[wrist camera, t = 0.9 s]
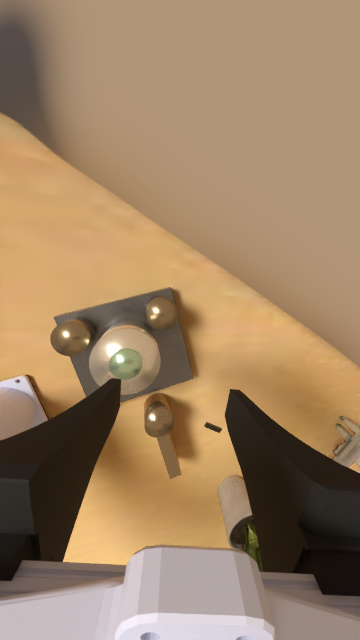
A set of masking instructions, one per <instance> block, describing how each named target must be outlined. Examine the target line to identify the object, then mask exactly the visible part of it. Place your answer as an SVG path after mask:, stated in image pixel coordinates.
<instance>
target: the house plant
mask: <svg viewBox="0 0 360 640" xmlns="http://www.w3.org/2000/svg"><path fill="white" fill-rule="evenodd" d="M218 495H219V500H220V504H221V509H222V514H223V518H224V523H225V528H226V532H227V537H228V542H229V544H230V546H231V547H232V548H233V549H235V550H239V551H244V552H246V553H247V554H248V555H249V556H250V557H251V558H252V559H253V560H254V561H256V562H257V565H258V568H259V572H263V567H262V562H261V556H260V551H259V546H258V541H257V536H256V531H255V526H254V521H253V516H252V512H251V508H250V503H249V499H248V494H247V490H246V486H245V482H244V480H243V479H242V478H241V477H240V476H231V477H228V478H226V479H225V480H224V481H222V483H221V484H220V486H219V488H218Z"/></svg>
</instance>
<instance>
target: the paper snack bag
mask: <svg viewBox="0 0 360 640" xmlns="http://www.w3.org/2000/svg"><path fill="white" fill-rule="evenodd" d="M355 463H356V464H357V465H359V466H360V456H359V457H358V458H357V460H356V461H355Z"/></svg>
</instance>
